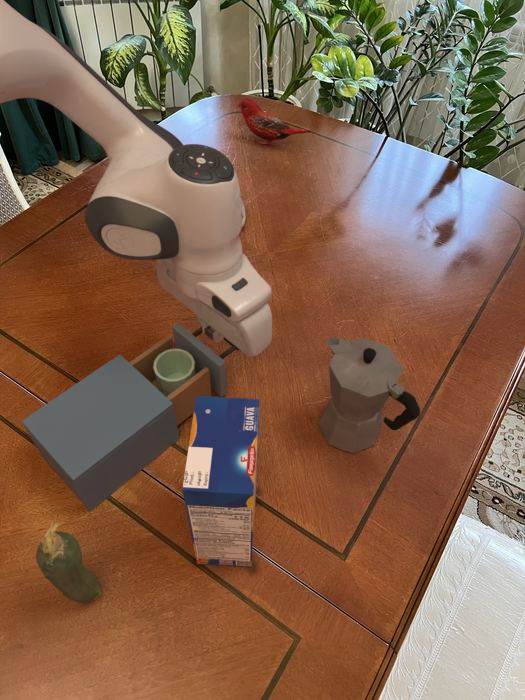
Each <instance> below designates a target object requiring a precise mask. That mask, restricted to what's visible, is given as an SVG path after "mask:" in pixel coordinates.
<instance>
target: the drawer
mask: <svg viewBox="0 0 525 700" xmlns="http://www.w3.org/2000/svg"><path fill="white" fill-rule="evenodd" d="M171 328H172V335H173V338H172V337H171V336H170V335H169V334H168V335H166V336H165V337H163V338H162V339H160V340H158V342H156V343H155V344H153V345H152V346H150V347H149V348H147V349H145V351H143V352H142V353H140V354H139V355H137V356H136V357H135V358H133V359H132V360H130V361H128V362H129V363H130V364H131V365H132V366H133V367H134V368H135V369H136V370H138V371H139V372H140V373H141V374H142V375H143V376H144V377H145V378H146V379H147V380H148V381H149V382H151V383H152V384H153V385H154V386H155V387H156V388H157V383H156V378H155V374H154V369H153V366H154V361H155V359H156V358H157V356H158V355H159V354H161V353H162V352H164V351H166V350H169V349H182V350H185V351H187V352H188V353H189V354H191V355H192V357H193V359H194V361H195V369H196V375H194V376H193V377H192V378H190V379H189V380H188V381H187V382H185V383H184V384H183V385H181V386H180V387H179V388H177V389H176V390H175V391H173V392H172V393H171V394H169V395H168V396H167V398H168V399H169V400H170V401H171V402H172V403H173V406H174V411H175V417H176V422H177V427H178V426H179V425H180V424H182V423H183V422H185V420H187V419H188V418H189V417H190V416H193V414H194V408H195V401H196V396H211V397H213V396H212V390H213V391H214V392H215V393H216V394H217V395H218V396H219V397H224V396H225V395H226V394H227V393H228V385H227V382H228V381H227V362H226V361H225V360H224V359H226V358H227V357H228V356H229V355H231V354H232V353H234V351H235V352H236V351H241V350H240V349H238V348H237V347H236V346H235V345H233V344H232V343H231V342H230V341H228V340H227V339H226V338H225V337H224V339H223V341H225V342H226V343H227V344H229V345H230V347H229V348H227V349H226V350H225V351H223V352H222V353H221V354H219V355H218V354H217V353H216V352H214V351H213V350H212V349H211V348H210V347H209V346H207V344H205V343H204V342H202V341H201V340H200V339H199V338H198V336H199V335H201V334H203V330H202V326H200V327H199V328H198V329H196V330H195V331H193V332H190V331H189V330H187V328H186V327H184V326H183V325H181V324H180V323H179V322H176V323H175V324H174V325H173V326H172V327H171ZM173 341H174V343H173ZM157 389H158V388H157Z"/></svg>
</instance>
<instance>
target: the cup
mask: <svg viewBox="0 0 525 700" xmlns="http://www.w3.org/2000/svg"><path fill="white" fill-rule="evenodd" d="M153 369H154V374H155V378H156V383H157V388H158V390H159V391H160V392H161V393H162V394H164V395H165V396H166V397H167V396H168V395H169V394H171V393H172V392H173V391H175V390H176V389H177V388H179V387H180V386H181V385H183V384H184V383H185V382H187V381H188V380H189V379H190V378H192V377H193V376H194V375H196V369H195V361H194V359H193V357H192V355H191V354H189V353H188V352H187V351H185V350H182V349H176V348H173V349H169V350H166V351H164V352H162V353H161V354H159V355H158V356H157V358H156V359H155V361H154V366H153Z"/></svg>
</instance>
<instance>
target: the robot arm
mask: <svg viewBox="0 0 525 700" xmlns="http://www.w3.org/2000/svg"><path fill="white" fill-rule="evenodd" d="M19 99H35V100H40V101H43V102H45V103H48V104H49V105H51V106H53V107H54V108H56V109H57V110H58V111H59V112H61V113H62V114H63V115H65V116H66V117H67V118H68V119H69V120H71V121H72V122H73V123H74V124H75V125H77V126H78V127H79V128H80V129H81V130H82V131H84V132H85V133H86V134H87V135H89V137H90V138H92V139H93V140H94V141H95V142H96V143H98V144H99V145H100V146H101V147H102V148H103V150H104V151H105V154H106V156H107V159H108V165H107V166H106V169H105V170H104V172H103V174H102V176H101V178H100V179H99V181H98V183H97V185H96V186H95V189H94V191H93V193H92V194H91V197H90V199H89V201H88V204H87V205H86V208H85V210H84V220H85V224H86V226H87V227H86V228H87V229H88V231H89V233H90V235H91V236H92V238H93V240H95V242H96V243H97V244H98V245H99V246H100V247H101V248H102V249H103V250H105V251H106V252H108V253H109V254H111V255H113V256H115V257H118V258H121V259H127V260H135V261H156V262H155V265H156V267H155V268H156V276H157V281H158V283H159V285H160V287H161V288H162V289H163V290H164V291H166V292H167V293H168V294H169V295H171V296H172V297H173V298H174V299H176V300H177V301H178V302H180V303H181V304H182V305H183V306H185V307H186V308H187V309H188V310H189V311H191V312H192V313H193V314H195V315H194V316H196V318H197V321H198V322H199V324H200V325H201V326H200V327H202V330H203V332H202V334H204V335H205V336H206V337H208V338H209V339H210V340H212V341H213V342H214V343H215V344H219V343H220V342H221V341H224V337H225V338H226V339H227V340H228V341H230V342H231V343H232V344H233V345H235V346H236V347H237V348H238V349H240V350H239V351H241V352H242V353H243V354H244V355H246V357H249V358H254V357H257V356H258V355H260V354H261V353H262V352H264V351H265V350H266V349H267V348H268V347H269V346H270V345H271V343H272V339H273V315H272V310H271V306H270V305H269V303H268V302H269V300H270V299H271V298H272V297H273V289H272V287H271V286H270V284H269V283H268V282H267V281H266V280H265V279H264V278H263V277H262V276H261V274H260V273H258V271H257V270H256V269H255V268H254V266H253V265H252V263H251V262H250V260H249V259H248V257H247V256H246V254H244V253H243V252H244V251H243V243H242V240H241V238H240V234H241V232H242V229H243V228H242V218H243V215H242V203H241V199H242V194H241V187H240V181H239V178H238V174H237V171H236V169H235V167H234V165H233V163H232V162H231V160H230V159H229V157H227V156H226V154H224V153H223V152H221V151H220V150H219V149H216V148H214V147H213V146H208V145H205V144H200V143H187V144H184V143H182V141H181V140H180V139H179V138H178V137H177V136H175V135H174V134H173V133H172V132H170V131H169V130H168V129H166V128H164V127H163V126H161V125H159V124H158V123H156V122H154V121H152V120H150V118H147V116H145V115H143V114H142V113H141V112H140V111H138V110H137V109H136V108H135V107H134V106H133V105H132V104H130V103H129V102H128V101H127V99H126V98H124V97H123V96H122V95H121V94H120V93H119V92H118V91H117V90H116V89H115V88H113V87H112V85H111V84H109V82H107V81H106V80H105V79H104V78H103V77H102V76H100V74H99V73H97V71H96V70H95V69H93V68H92V67H91V65H89V64H88V63H87V62H86V61H85V60H84V59H83V58H82V57H80V56H79V55H78V54H77V53H76V52H75V51H74V50H73V49H71V48H70V47H69V46H68V45H67V44H66V43H65V42H64V41H62V40H61V39H60V38H59V37H58V36H56V35H54V34H53V33H52V32H51V31H49V30H48V29H46V28H44V27H43V26H41V25H39V24H37V23H35V22H33V21H30V20H29V19H28V18H26V17H25V16H23V15H22V14H21V13H19V12H18V11H17V10H16V9H15V8H13V7H12V6H11V5H10V4H9V3H7V2H6V0H0V104H3V103H8V102H10V101H11V102H12V101H14V100H19Z"/></svg>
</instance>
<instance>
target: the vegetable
mask: <svg viewBox="0 0 525 700" xmlns="http://www.w3.org/2000/svg"><path fill="white" fill-rule="evenodd" d="M61 527H63V523H59V520H57V521H52V522H50V527H49V529H46V534H44V537H42V538H41V539H40V542H39V544H38V546H37V548H36V554H35V560H36V563H37V566H38V567H39V569H40V571H41V573H42V575H43V576H44V577H45V578H46V579H47V580H48V581H49V582H50V583H51V585H52V586H53V587H54V588H56V589H57V590H58V591H59V592H60V593H61V594H62V595H63V596H64V597H65V598H66V599H68V600H70V601H72V602H75V603H79V604H82V605H87V604H90V603H91V602H93V601H95V600H97V599H99V597H102V591H101V588H100V582H99V581H98V579H97V577H96V576H95V574H93V573H92V572H91V571H90V570H89V569H88V568H87V567H86V566H85V565H84V562H83V552H82V548H81V546H80V543H79V541H78V540H77V538H76V537H75V536H74V535H73V534H71V533H68V532H64V531H59V530H58V529H59V528H61ZM57 530H58V531H57Z"/></svg>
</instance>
